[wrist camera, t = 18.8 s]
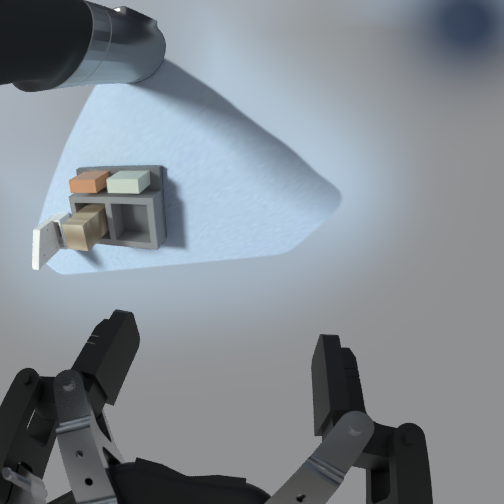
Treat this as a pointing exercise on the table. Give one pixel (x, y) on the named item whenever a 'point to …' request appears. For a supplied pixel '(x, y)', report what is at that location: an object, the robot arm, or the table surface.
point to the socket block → (124, 202)
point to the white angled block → (48, 239)
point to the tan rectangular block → (86, 227)
